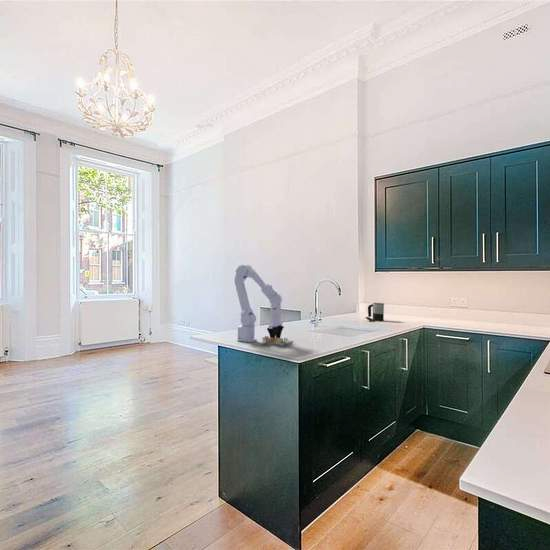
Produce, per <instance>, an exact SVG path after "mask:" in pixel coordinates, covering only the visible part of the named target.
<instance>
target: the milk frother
mask: <svg viewBox="0 0 550 550" xmlns="http://www.w3.org/2000/svg"><path fill="white" fill-rule="evenodd" d="M384 307H385V303H383V302H373V303H372V304H369V305H368V306H367V316H365V319H366V320H368V321H369V322H384V321H385V320H384V319H385V317H384V316H385V315H384V313H385V309H384ZM371 317H372V318H371Z"/></svg>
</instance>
